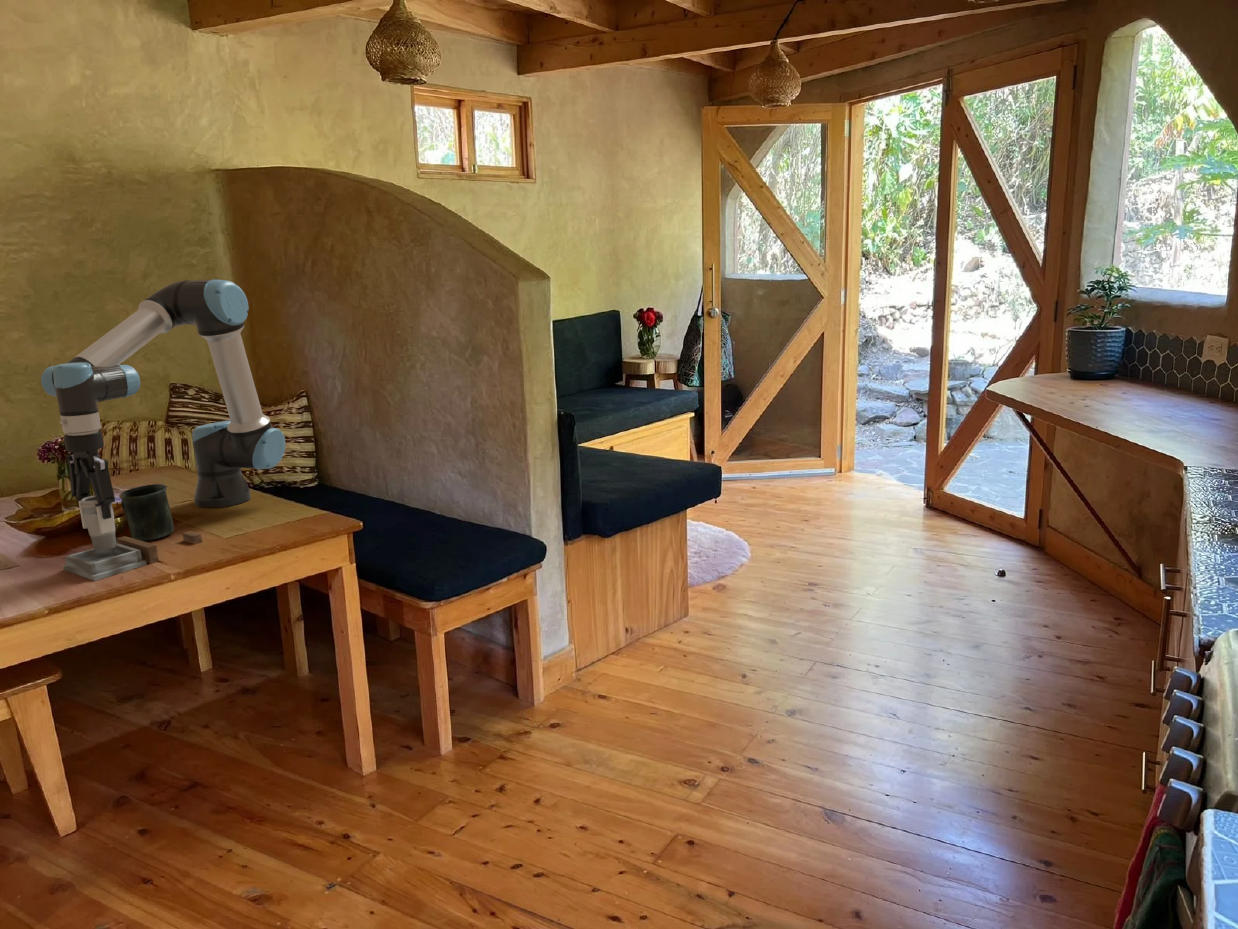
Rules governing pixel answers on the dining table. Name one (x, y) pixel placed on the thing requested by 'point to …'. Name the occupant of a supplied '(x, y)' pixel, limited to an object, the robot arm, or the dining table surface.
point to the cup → (97, 525)
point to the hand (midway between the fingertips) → (98, 529)
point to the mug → (147, 512)
